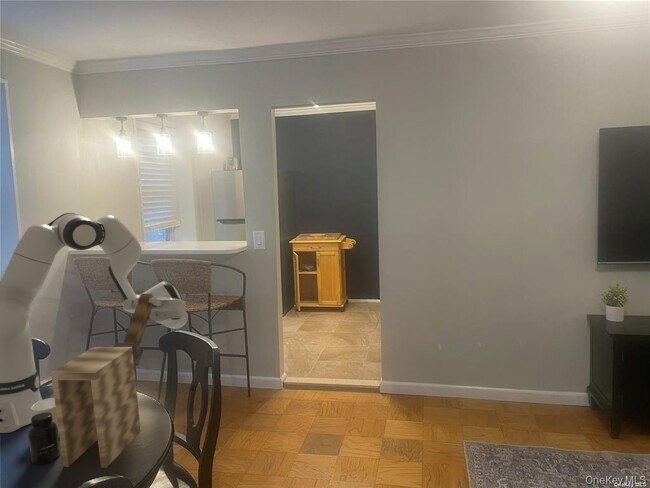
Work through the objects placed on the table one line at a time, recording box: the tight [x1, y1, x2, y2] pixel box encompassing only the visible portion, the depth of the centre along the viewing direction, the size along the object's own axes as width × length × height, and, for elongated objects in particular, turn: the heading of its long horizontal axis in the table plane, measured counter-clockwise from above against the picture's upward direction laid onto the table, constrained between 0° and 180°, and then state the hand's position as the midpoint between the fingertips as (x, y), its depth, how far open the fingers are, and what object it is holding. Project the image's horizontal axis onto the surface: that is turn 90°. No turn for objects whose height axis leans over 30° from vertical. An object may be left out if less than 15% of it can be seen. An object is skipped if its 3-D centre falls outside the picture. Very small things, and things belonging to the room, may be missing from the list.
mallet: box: [113, 293, 154, 366], centre depth 150 cm, size 24×7×5 cm
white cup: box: [31, 397, 59, 436], centre depth 138 cm, size 8×8×10 cm
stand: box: [50, 346, 142, 469], centre depth 129 cm, size 18×12×26 cm, turn 174°
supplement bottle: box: [27, 412, 61, 465], centre depth 127 cm, size 7×7×12 cm
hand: (143, 300), depth 155 cm, fingers open, 3 cm apart
